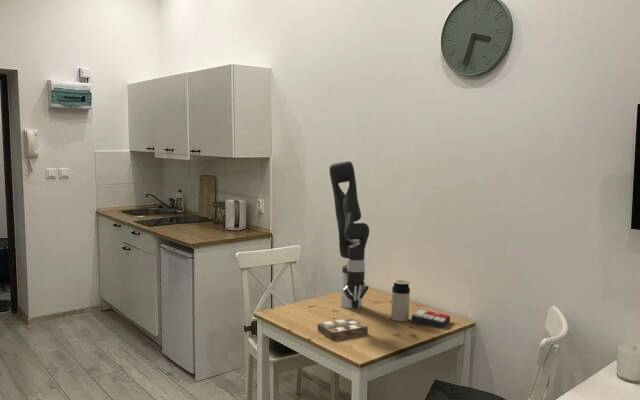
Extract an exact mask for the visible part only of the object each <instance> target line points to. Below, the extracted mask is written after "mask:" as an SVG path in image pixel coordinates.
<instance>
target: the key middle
mask: <svg viewBox="0 0 640 400" xmlns="http://www.w3.org/2000/svg"><path fill="white" fill-rule="evenodd" d="M345 320H346V319H337V320H334V322H335V325H337V326H339V327H341V326H347V322H346V321H345Z"/></svg>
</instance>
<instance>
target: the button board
mask: <svg viewBox="0 0 640 400" xmlns="http://www.w3.org/2000/svg"><path fill="white" fill-rule="evenodd" d="M344 320H345V321H346V322H348V321H356V322H358V324H353V325H351V324H349V323H347V326H341V327H339V326H337V325H335V328H329V329H326V328H325V327H323V322H322V323H318V324H317V332H319V333H320V334H322V335H323V336H325V337H326V338H328V339H329V340H331V341H333V340H340V339H345V338H351V337H358V336H362V335H363V336H364V335H368V334H369V333H368V329H369V328H368V326H367V325H366V324H363V323H361V322H359V321H357V320H355V319H353V318H348V319H344ZM332 322H333V323H334V324H335V321H332Z"/></svg>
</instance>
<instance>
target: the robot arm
mask: <svg viewBox="0 0 640 400" xmlns="http://www.w3.org/2000/svg"><path fill="white" fill-rule="evenodd" d="M329 176H330V177H329V178H330V182H331V187H332V193H333V200H334V209H335V217H336V222H337V229H338V230H337V231H338V244H339V254H340V256H341V258H344V259H347V263H346V264H345V265H343V266H342V268H341V269H342V270H341V272H342V273H341V278H342V279H341V298H340V299H341V303H340V304H341V305H340V306H341V307H343V308H345V309H359V308H360V307H362V301H363V300H362V299H363V298H364V297H365V295H366V293H367V292H368V290H369V285H367V284H365V281H364V280H365V274H366V273H365V270H366V269H365V266H366V264H365V263H366V262H365V251H366V250H365V249H366V247H367V246H366V245H367V243H368V239H369V236H370V227H369V225H368V224H367V223H365V222H358V221H360V220H361V219H362V212H361V208H360V203H359V200H358V192H357V191H358V189H357V182H356V176H355V168H354V164H353V163H352V162H351V161H343V162H342V161H341V162H335V163H331V164H330V165H329ZM347 182H348V188H347V192H346V193H345V192H344V191H343V190H342V188H341V187H340V185H339V184H342V183H347ZM355 222H356V223H355ZM357 222H358V223H357Z"/></svg>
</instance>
